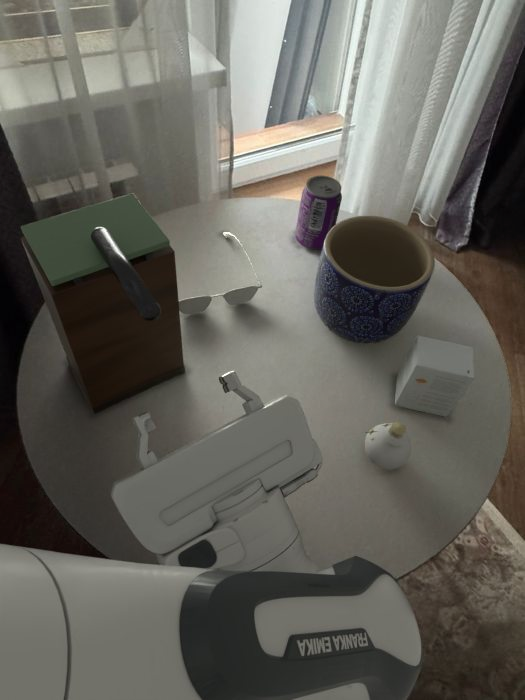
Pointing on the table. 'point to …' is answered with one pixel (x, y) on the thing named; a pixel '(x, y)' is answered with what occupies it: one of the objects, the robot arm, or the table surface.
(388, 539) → the table surface
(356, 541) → the table surface
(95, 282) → the cabinet
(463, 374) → the small box
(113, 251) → the door
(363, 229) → the planter
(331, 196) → the beverage can
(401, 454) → the ornament
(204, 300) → the eyeglasses
